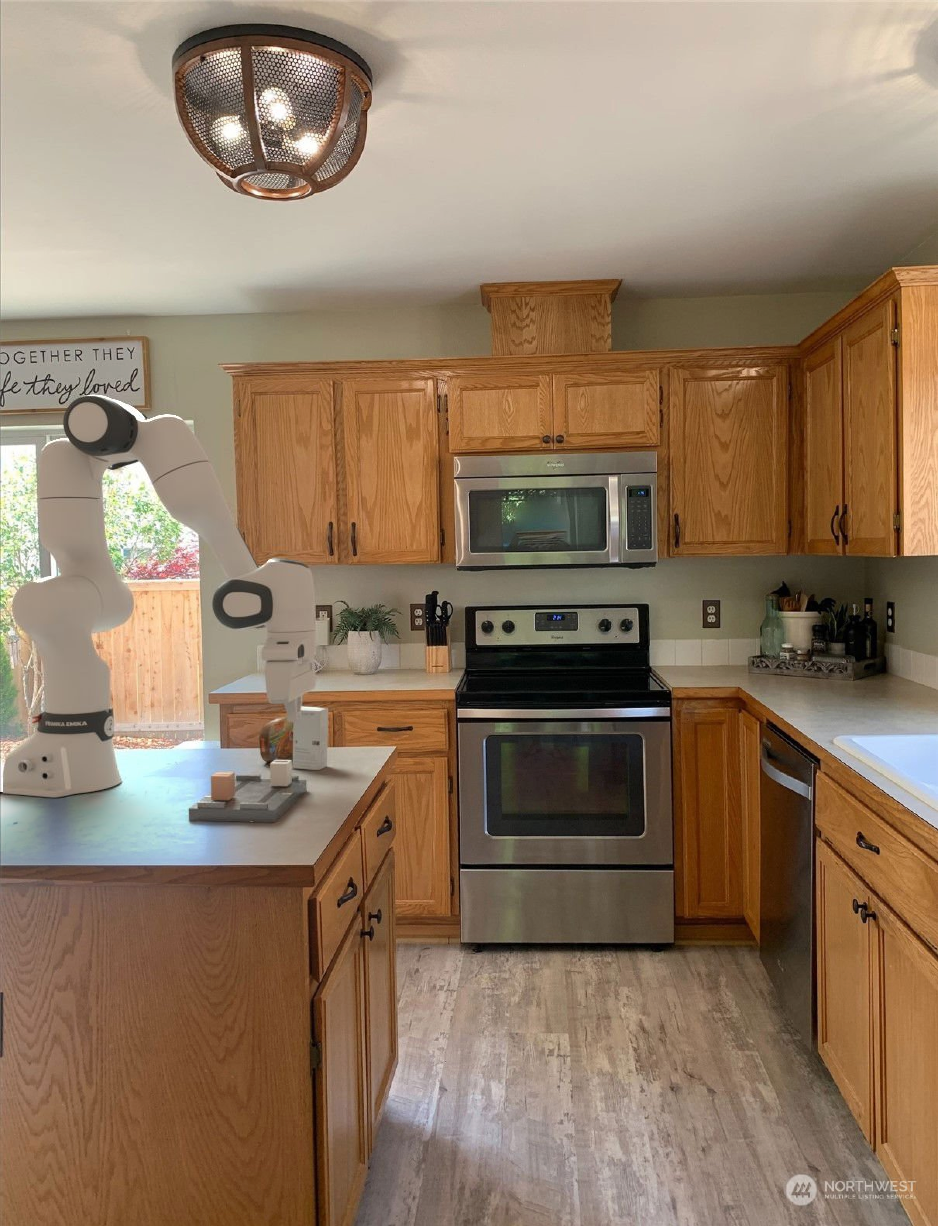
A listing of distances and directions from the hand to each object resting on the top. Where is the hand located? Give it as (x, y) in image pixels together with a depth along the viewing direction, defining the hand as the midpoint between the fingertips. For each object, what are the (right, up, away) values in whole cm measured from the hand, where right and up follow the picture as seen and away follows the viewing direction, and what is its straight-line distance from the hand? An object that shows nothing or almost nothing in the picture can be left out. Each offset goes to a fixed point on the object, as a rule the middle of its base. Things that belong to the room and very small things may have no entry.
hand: (294, 720), depth 166 cm
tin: (-8, -11, +25) cm, 28 cm away
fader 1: (-9, -11, -16) cm, 21 cm away
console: (-5, -13, -12) cm, 18 cm away
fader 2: (-1, -10, -6) cm, 12 cm away
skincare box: (0, -12, +16) cm, 20 cm away
